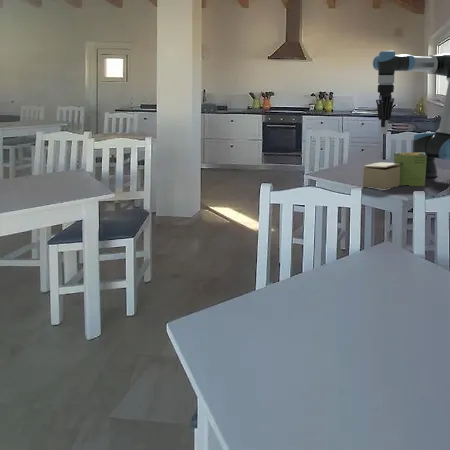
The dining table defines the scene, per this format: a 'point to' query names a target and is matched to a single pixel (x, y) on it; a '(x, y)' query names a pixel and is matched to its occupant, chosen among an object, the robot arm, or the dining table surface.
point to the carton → (381, 177)
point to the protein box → (411, 168)
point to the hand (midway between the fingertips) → (383, 133)
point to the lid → (382, 165)
